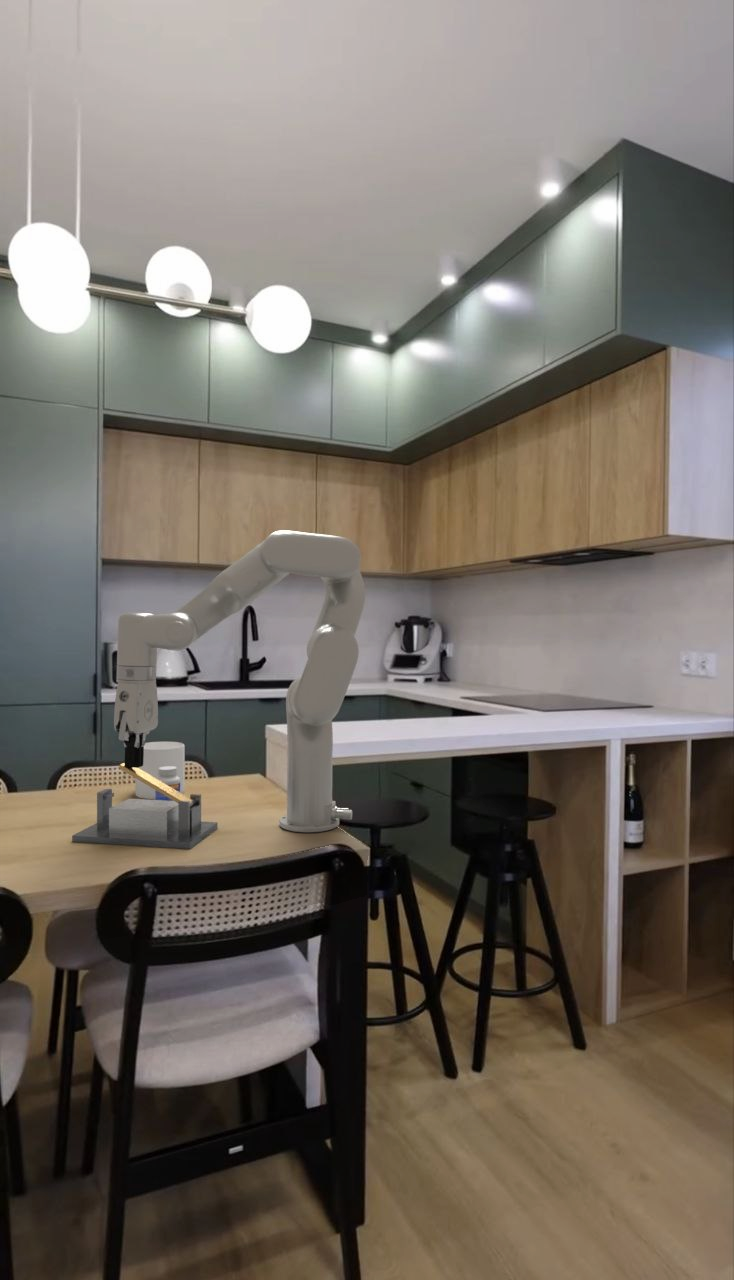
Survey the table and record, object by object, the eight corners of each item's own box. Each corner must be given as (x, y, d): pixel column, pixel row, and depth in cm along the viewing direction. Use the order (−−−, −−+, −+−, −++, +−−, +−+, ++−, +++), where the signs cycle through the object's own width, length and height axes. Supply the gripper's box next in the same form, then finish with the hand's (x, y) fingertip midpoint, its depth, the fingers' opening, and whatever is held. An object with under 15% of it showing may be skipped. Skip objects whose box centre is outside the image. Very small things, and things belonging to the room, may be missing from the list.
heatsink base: (217, 828, 148) (217, 787, 148) (190, 849, 134) (190, 804, 134) (109, 822, 152) (109, 782, 152) (72, 841, 138) (72, 798, 138)
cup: (145, 787, 184) (145, 741, 184) (190, 788, 183) (190, 741, 183) (128, 798, 172) (128, 749, 172) (176, 799, 172) (176, 749, 171)
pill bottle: (173, 814, 158) (173, 770, 158) (150, 813, 159) (150, 769, 159) (184, 808, 164) (184, 766, 163) (162, 807, 165) (162, 764, 165)
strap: (195, 805, 143) (197, 801, 143) (186, 810, 140) (188, 806, 139) (126, 764, 146) (128, 760, 146) (116, 768, 142) (118, 764, 142)
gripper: (136, 677, 135) (133, 775, 135) (170, 673, 149) (167, 761, 150) (99, 676, 136) (96, 772, 136) (136, 671, 151) (134, 758, 151)
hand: (133, 766), depth 143 cm, fingers closed
